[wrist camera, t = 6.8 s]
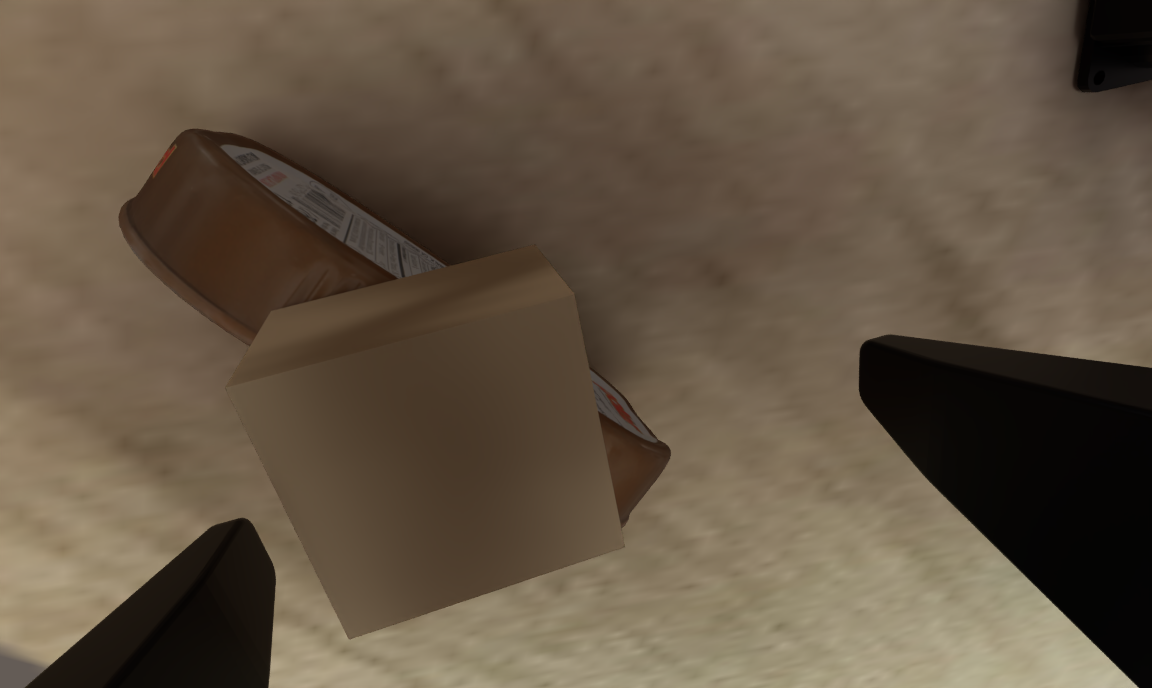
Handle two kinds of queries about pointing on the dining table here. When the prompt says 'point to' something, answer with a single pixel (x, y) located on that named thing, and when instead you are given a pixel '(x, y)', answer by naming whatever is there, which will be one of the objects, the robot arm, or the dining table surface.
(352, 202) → the tin
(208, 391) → the dining table surface
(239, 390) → the oak block
